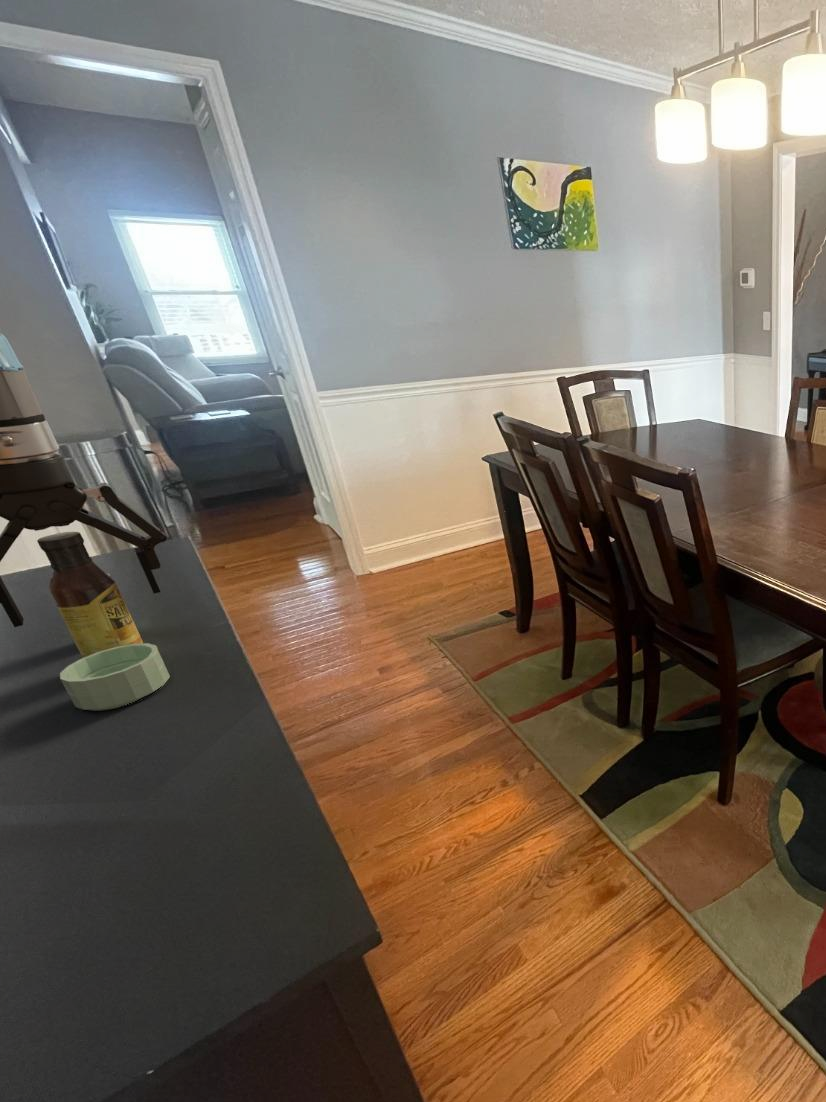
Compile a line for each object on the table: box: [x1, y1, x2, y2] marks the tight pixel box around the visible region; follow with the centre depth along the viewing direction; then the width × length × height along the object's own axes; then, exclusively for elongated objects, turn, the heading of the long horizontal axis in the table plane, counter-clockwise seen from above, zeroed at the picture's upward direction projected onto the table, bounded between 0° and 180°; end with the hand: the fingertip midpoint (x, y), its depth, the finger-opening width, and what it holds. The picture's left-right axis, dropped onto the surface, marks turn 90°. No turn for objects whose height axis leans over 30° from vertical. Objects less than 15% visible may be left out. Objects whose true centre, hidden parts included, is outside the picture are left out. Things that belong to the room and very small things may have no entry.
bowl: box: [59, 642, 171, 712], centre depth 80 cm, size 9×9×5 cm
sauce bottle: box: [36, 531, 144, 658], centre depth 84 cm, size 6×6×20 cm
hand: (91, 606), depth 84 cm, fingers open, 13 cm apart
